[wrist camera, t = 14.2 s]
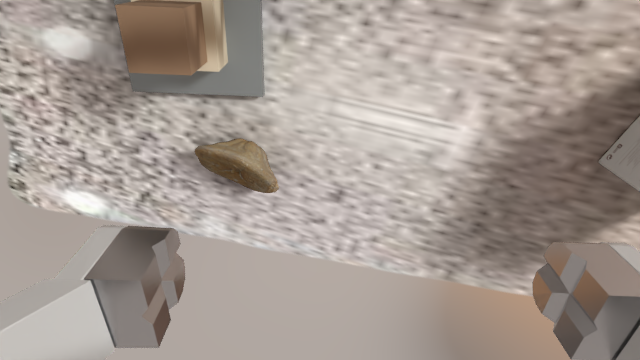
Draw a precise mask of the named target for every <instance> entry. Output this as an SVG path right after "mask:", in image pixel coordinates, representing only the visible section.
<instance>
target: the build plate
mask: <svg viewBox="0 0 640 360" xmlns="http://www.w3.org/2000/svg"><path fill="white" fill-rule="evenodd" d="M128 2H131V0H114V4H115V5H117V4H122V3H128ZM223 5H224V18H225V31H226V43H227V56H228V63H227V64H226V65H225V66H224V67H223V68H222V69H221V70H220V71H219V72H211V71H196V72H195V73H194V74H192V75H170V74H147V73H129V75H130V80H131V85H132V90H133V91H138V92H162V93H185V94H209V95H233V96H256V97H263V96H264V68H263V37H262V7H261V0H223ZM115 9H116V8H115ZM116 14H117V12H116ZM117 19H118V17H117ZM118 23H119V22H118ZM119 28H120V27H119ZM120 33H121V31H120ZM121 38H122V36H121ZM122 42H123V41H122ZM123 47H124V46H123ZM124 52H125V50H124ZM125 56H126V55H125ZM126 61H127V60H126ZM127 66H128V65H127ZM128 71H129V69H128Z"/></svg>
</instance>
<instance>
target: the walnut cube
mask: <svg viewBox="0 0 640 360" xmlns="http://www.w3.org/2000/svg"><path fill="white" fill-rule="evenodd" d="M115 8H116V12H117V17H118V22H119V27H120V31H121V36H122V41H123V46H124V50H125V55H126V60H127V65H128V69H129V73H147V74H170V75H192V74H194V73H195V72H196V71H197V70H198V69H199V68H201V67H202V66H203V65H204V64H205V63H207V62H208V61H207V52H206V42H205V33H204V23H203V14H202V4H201V2H184V1H163V0H138V1H133V2H128V3H122V4H117V5H115Z"/></svg>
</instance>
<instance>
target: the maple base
mask: <svg viewBox="0 0 640 360" xmlns="http://www.w3.org/2000/svg"><path fill="white" fill-rule="evenodd" d="M133 1H138V0H131V2H133ZM163 1H184V2H201V4H202V14H203V23H204V33H205V42H206V52H207V61H208V62H207V63H205V64H204V65H203V66H202V67H201V68H199V69H198V70H197V71H211V72H219V71H220V70H221V69H222V68H223V67H224V66H225V65H226V64H227V63H228V56H227V43H226V31H225V18H224V5H223V0H163Z"/></svg>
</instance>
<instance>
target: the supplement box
mask: <svg viewBox="0 0 640 360" xmlns="http://www.w3.org/2000/svg"><path fill="white" fill-rule="evenodd" d="M599 163H600V164H601V165H602V166H604V167H605V168H606V169H608V170H609V171H611V172H612V173H614V174H615V175H616V176H618V177H619V178H621V179H622V180H624V181H625V182H626V183H628V184H629V185H631V186H632V187H633V188H635V189H636V190H638V191H639V192H640V116H639V117H638V118H637V119H636V120H635V121H634V123H633V124H632V125H631V126H630V127H629V128H628V129H627V130H626V131H625V132H624V134H623V135H622V136H621V137H620V138H619V139H618V140H617V141H616V142H615V143H614V145H613V146H612V147H611V148H610V149H609V150H608V151H607V152H606V153H605V155H604V156H603V157H602V158H601V159H600V160H599Z"/></svg>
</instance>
